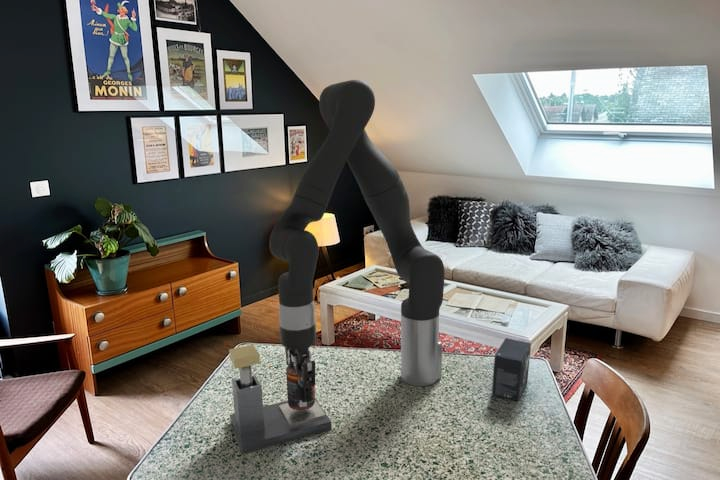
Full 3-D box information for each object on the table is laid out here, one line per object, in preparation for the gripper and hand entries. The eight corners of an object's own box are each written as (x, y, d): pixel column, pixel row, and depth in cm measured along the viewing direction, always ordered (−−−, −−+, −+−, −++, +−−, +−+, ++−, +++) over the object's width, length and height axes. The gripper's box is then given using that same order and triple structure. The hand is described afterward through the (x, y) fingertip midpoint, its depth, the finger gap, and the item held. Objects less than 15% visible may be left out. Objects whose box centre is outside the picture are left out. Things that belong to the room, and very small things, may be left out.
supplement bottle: (311, 413, 116) (308, 364, 113) (284, 410, 117) (281, 362, 114) (318, 398, 121) (316, 351, 119) (292, 395, 123) (290, 349, 120)
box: (519, 402, 126) (521, 360, 123) (490, 395, 129) (492, 354, 126) (529, 381, 135) (531, 342, 132) (502, 375, 138) (504, 337, 135)
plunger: (257, 396, 117) (253, 344, 114) (263, 407, 113) (259, 354, 110) (233, 401, 115) (229, 349, 112) (238, 413, 111) (234, 359, 108)
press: (312, 402, 127) (310, 355, 124) (331, 429, 117) (329, 378, 114) (230, 423, 120) (226, 373, 117) (242, 454, 109) (238, 400, 106)
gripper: (326, 330, 109) (329, 405, 114) (303, 306, 122) (306, 375, 126) (290, 338, 106) (294, 414, 111) (270, 312, 119) (275, 382, 123)
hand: (301, 393), depth 119 cm, fingers closed on supplement bottle, 6 cm apart
